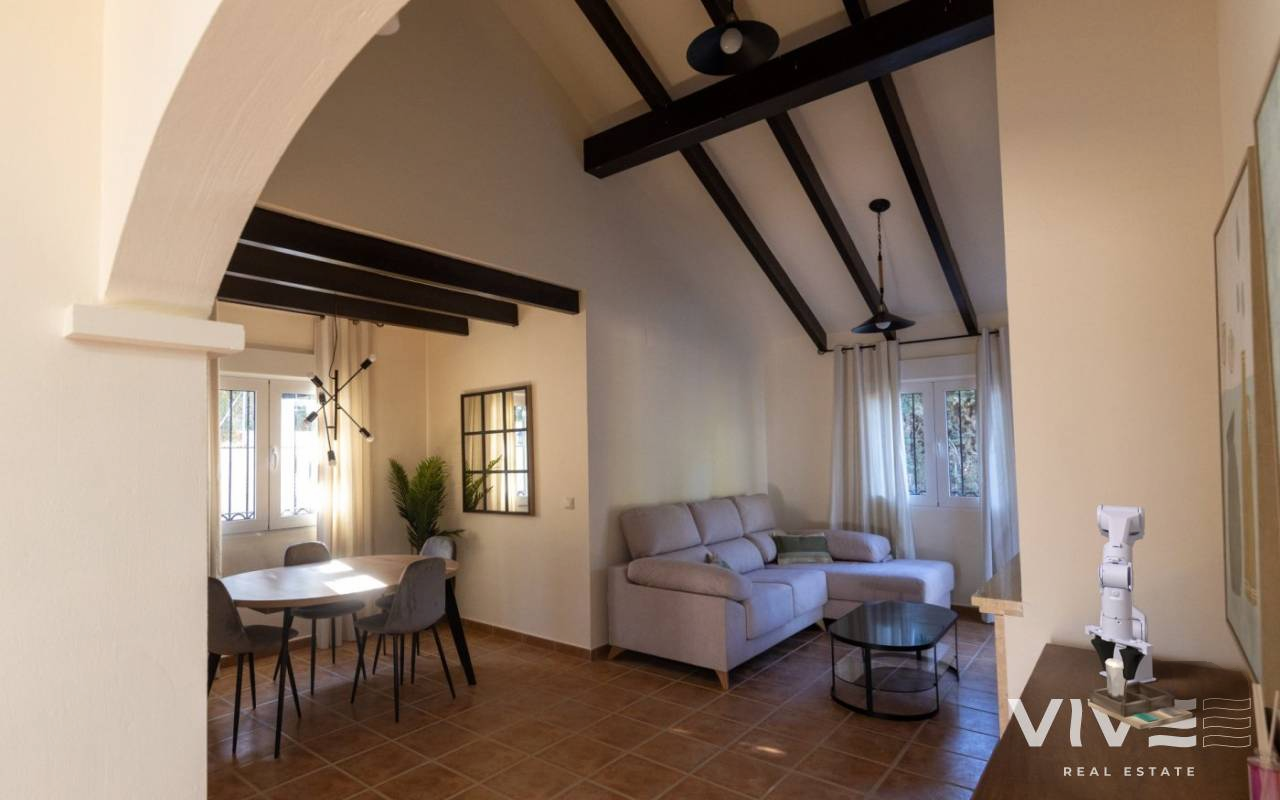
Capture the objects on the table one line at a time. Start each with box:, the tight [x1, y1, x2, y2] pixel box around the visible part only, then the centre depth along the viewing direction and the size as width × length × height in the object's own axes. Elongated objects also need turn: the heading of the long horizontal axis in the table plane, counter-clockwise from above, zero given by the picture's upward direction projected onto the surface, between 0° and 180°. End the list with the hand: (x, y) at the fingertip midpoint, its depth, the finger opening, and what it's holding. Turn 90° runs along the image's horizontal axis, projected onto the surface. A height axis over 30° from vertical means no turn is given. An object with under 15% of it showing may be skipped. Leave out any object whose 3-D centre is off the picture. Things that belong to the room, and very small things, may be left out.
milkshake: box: [1105, 658, 1128, 703], centre depth 152 cm, size 4×5×10 cm
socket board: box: [1087, 681, 1194, 730], centre depth 151 cm, size 16×12×4 cm
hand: (1118, 675), depth 152 cm, fingers closed on milkshake, 4 cm apart
